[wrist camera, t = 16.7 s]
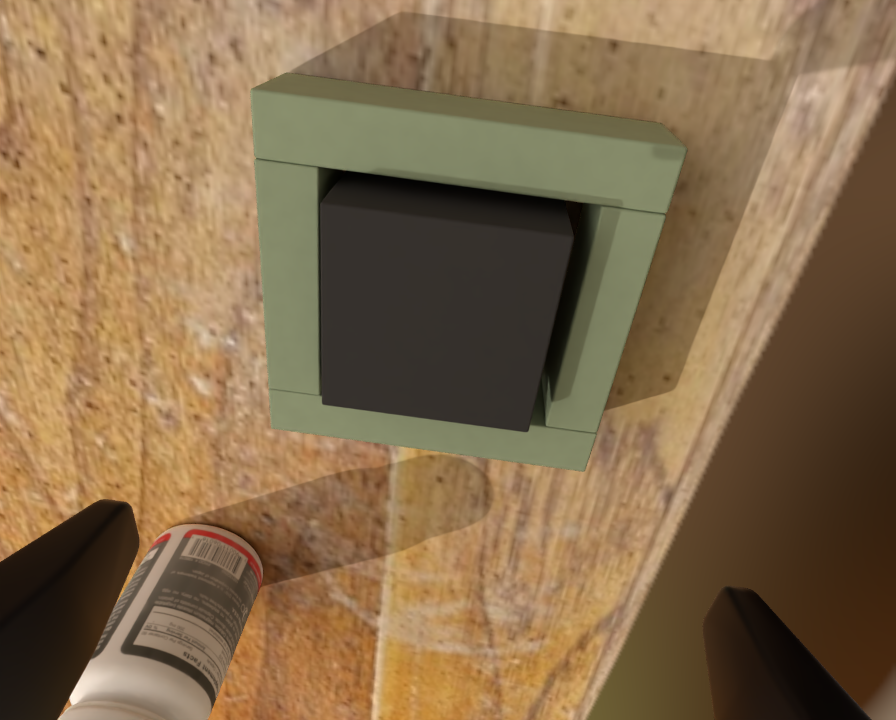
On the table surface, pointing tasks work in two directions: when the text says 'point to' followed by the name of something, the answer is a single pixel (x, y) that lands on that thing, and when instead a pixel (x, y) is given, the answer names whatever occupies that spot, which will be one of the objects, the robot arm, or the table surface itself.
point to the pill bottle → (172, 630)
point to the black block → (438, 298)
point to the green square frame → (470, 165)
